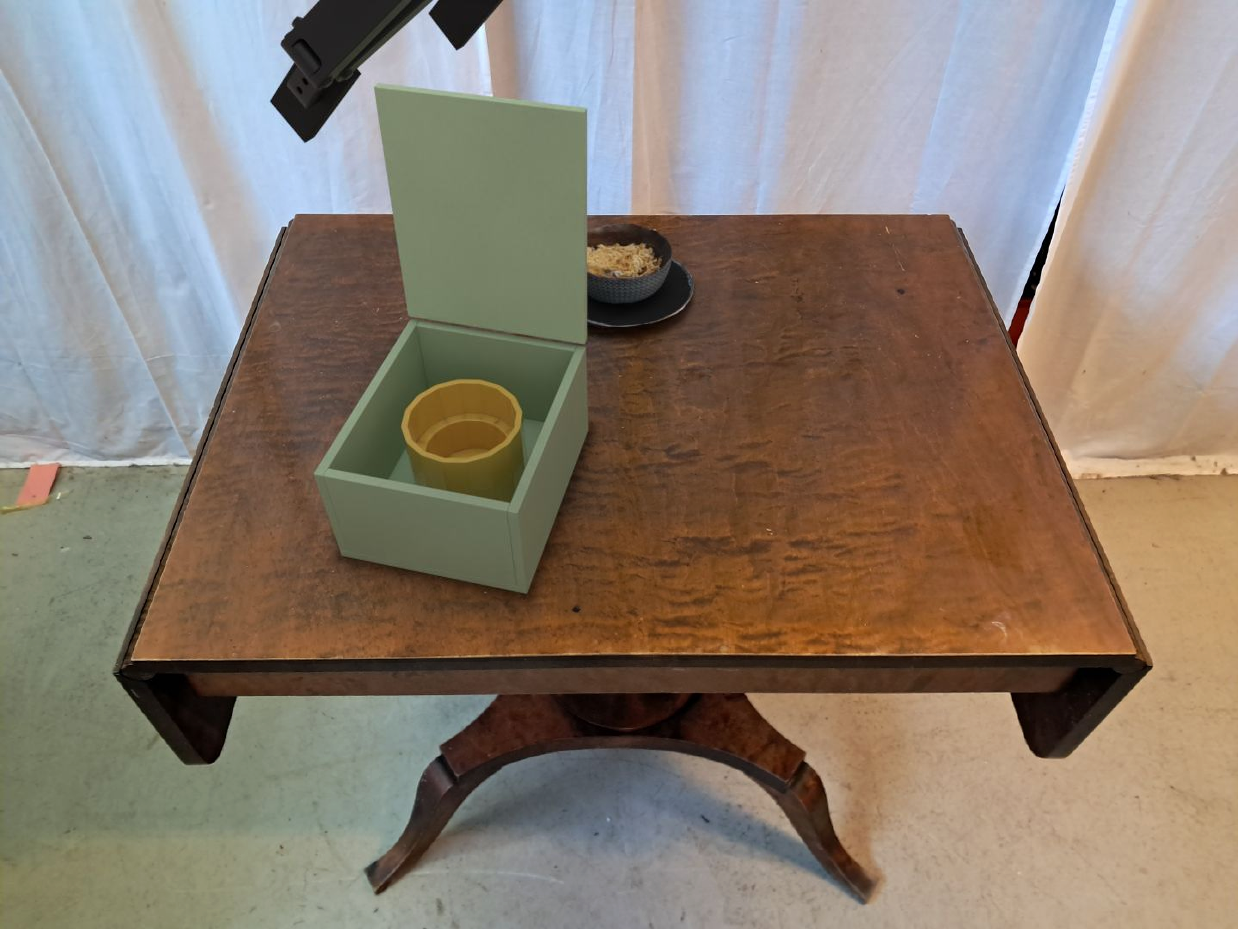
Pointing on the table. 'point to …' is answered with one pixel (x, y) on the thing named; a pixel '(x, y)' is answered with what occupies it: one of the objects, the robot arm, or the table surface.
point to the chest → (442, 520)
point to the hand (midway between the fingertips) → (374, 71)
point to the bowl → (466, 439)
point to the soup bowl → (633, 277)
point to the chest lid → (489, 209)
